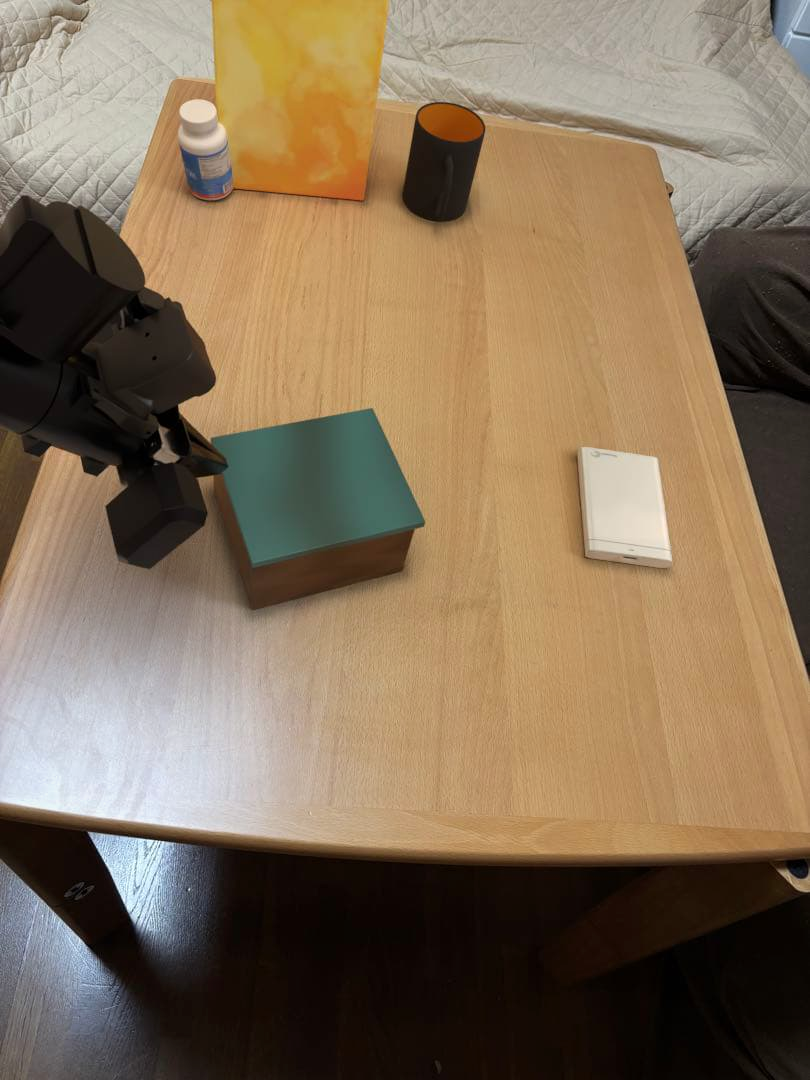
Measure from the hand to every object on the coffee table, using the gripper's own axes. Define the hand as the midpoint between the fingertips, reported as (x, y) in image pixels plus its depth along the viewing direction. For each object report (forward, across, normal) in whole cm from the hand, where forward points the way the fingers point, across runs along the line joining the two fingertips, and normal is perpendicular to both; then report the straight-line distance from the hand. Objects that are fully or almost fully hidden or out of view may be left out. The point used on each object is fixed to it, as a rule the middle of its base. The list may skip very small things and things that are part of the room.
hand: (223, 466), depth 59 cm
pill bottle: (+16, +50, 0) cm, 52 cm away
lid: (+9, 0, -2) cm, 9 cm away
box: (+14, 0, +3) cm, 14 cm away
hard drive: (+35, -6, -18) cm, 40 cm away
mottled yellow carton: (+24, +53, -7) cm, 59 cm away
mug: (+34, +42, -18) cm, 57 cm away
